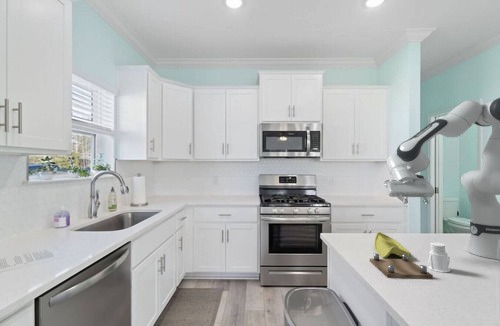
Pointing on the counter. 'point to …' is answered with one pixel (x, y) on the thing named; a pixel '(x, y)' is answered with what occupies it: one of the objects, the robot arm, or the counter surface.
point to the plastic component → (388, 246)
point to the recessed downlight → (438, 258)
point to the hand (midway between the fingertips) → (416, 203)
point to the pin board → (400, 268)
